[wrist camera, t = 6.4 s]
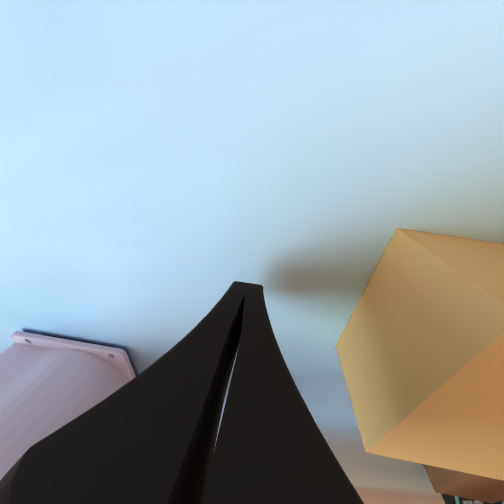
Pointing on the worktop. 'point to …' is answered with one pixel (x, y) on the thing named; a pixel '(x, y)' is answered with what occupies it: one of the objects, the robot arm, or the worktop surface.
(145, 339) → the worktop surface
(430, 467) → the brown wooden bar
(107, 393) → the robot arm
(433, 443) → the block
